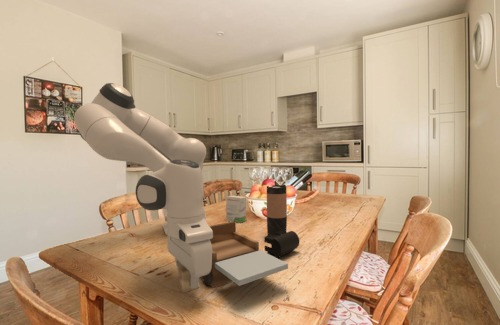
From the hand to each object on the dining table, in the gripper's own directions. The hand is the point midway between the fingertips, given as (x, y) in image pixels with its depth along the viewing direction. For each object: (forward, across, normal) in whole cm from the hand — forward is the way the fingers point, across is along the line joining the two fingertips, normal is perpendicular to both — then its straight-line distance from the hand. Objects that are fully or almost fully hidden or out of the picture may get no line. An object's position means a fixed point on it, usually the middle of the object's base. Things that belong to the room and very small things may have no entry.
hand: (187, 280), depth 67 cm
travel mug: (+2, -15, +42) cm, 45 cm away
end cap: (+2, -2, +33) cm, 33 cm away
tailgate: (-5, +5, +12) cm, 14 cm away
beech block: (+2, 0, 0) cm, 2 cm away
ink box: (+2, -46, +43) cm, 63 cm away
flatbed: (+2, -2, +12) cm, 12 cm away
